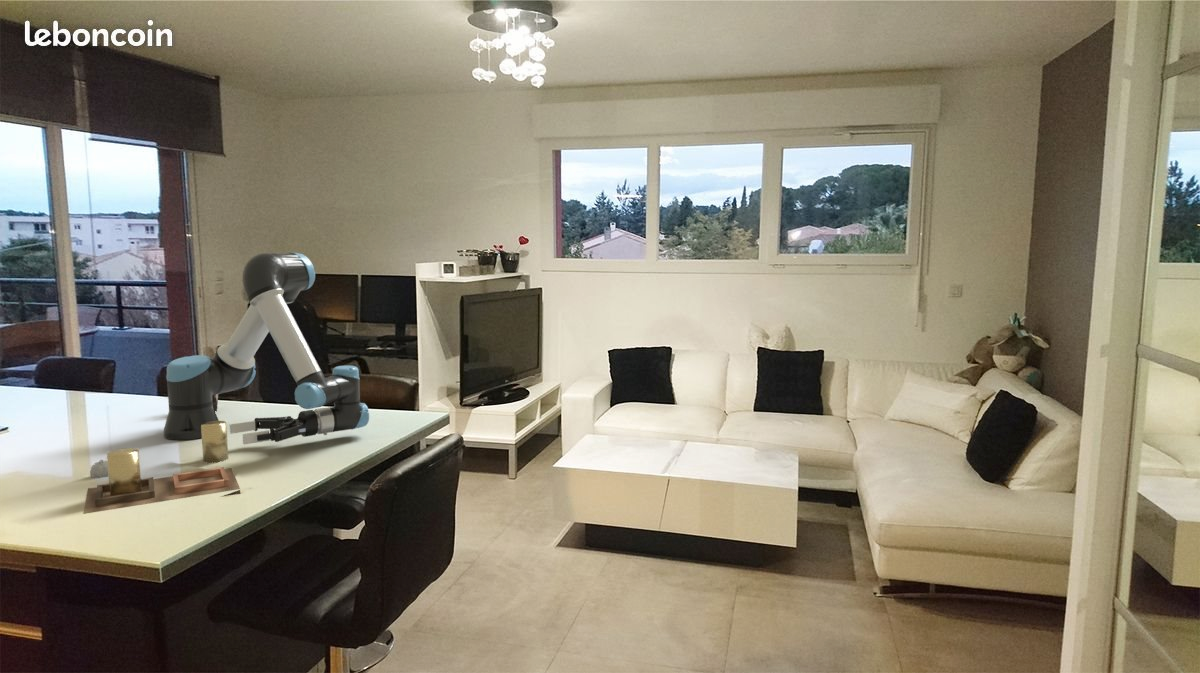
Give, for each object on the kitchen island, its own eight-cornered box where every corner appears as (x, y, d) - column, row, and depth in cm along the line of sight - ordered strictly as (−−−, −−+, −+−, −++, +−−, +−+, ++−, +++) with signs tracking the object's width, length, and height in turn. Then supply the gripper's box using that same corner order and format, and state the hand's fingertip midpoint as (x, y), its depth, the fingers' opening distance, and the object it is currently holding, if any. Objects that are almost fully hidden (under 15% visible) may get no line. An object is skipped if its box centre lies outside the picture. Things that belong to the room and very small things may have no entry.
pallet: (83, 519, 150) (82, 506, 150) (88, 493, 165) (87, 482, 165) (240, 493, 167) (239, 482, 166) (231, 472, 182) (231, 462, 181)
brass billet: (198, 460, 191) (195, 424, 189) (218, 454, 196) (216, 419, 195) (213, 464, 188) (211, 427, 187) (233, 458, 193) (231, 422, 192)
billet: (104, 496, 160) (100, 453, 159) (131, 488, 166) (128, 447, 164) (120, 500, 158) (117, 457, 156) (147, 492, 163) (144, 450, 162)
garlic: (103, 483, 172) (101, 463, 171) (84, 482, 173) (82, 461, 172) (123, 475, 178) (122, 455, 177) (105, 474, 179) (103, 454, 178)
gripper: (330, 444, 199) (249, 458, 185) (301, 425, 218) (225, 437, 204) (329, 418, 198) (248, 430, 184) (300, 402, 217) (224, 412, 203)
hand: (236, 434), depth 194 cm, fingers open, 13 cm apart
